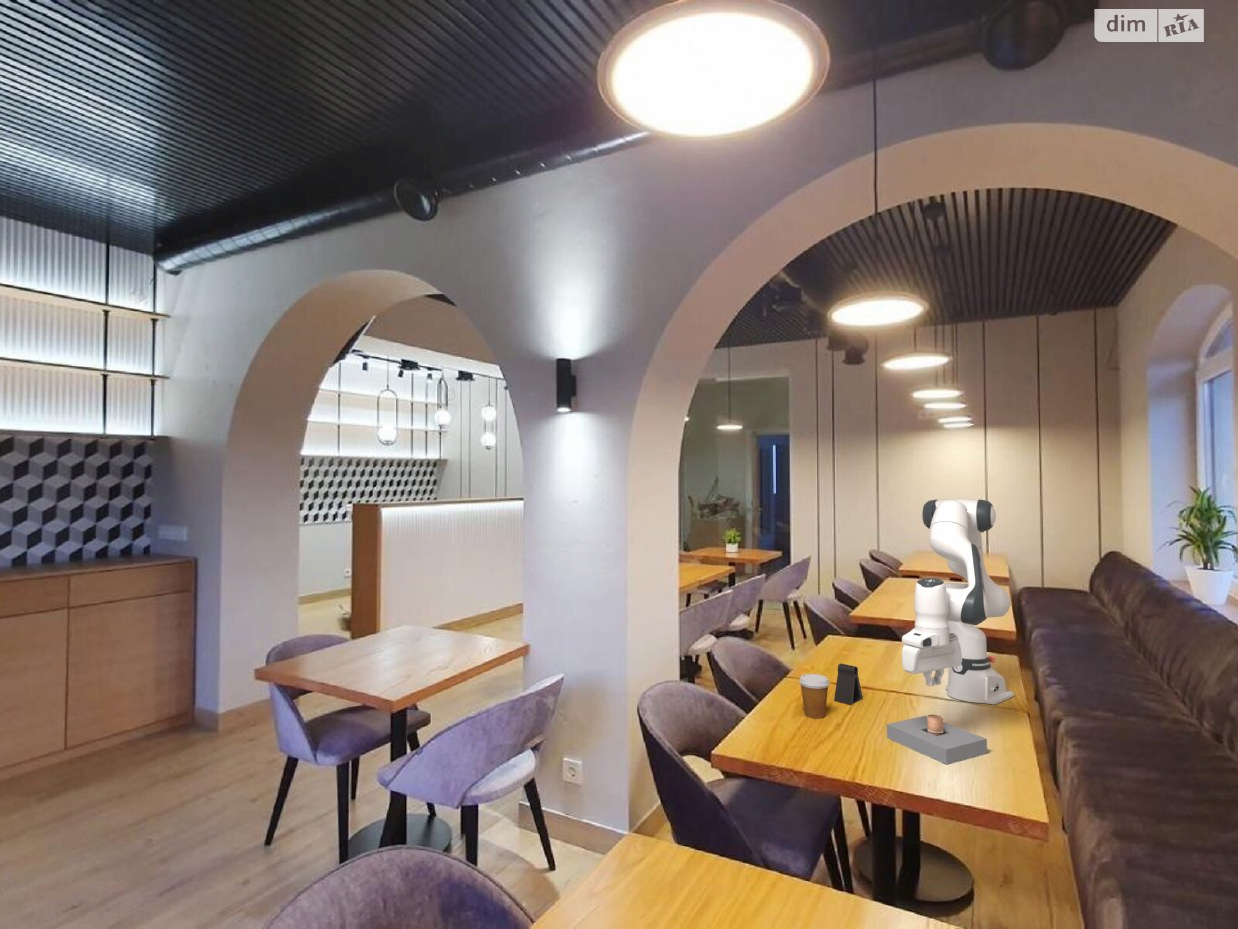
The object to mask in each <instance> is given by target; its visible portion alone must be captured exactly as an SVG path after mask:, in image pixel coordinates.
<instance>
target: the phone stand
mask: <svg viewBox="0 0 1238 929" xmlns="http://www.w3.org/2000/svg"><path fill="white" fill-rule="evenodd" d="M863 699H864V697H863V693H862V688H861V682H860V678H859V668H858V666H854V665H850V664H845V663H838V666H837V677H836V684H835V692H834V699H833V701H834V702H835V703H837V702H838V703H840V704H844V705H848V706H852V705H854V704H857V703H858V702H860V701H863Z"/></svg>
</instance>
